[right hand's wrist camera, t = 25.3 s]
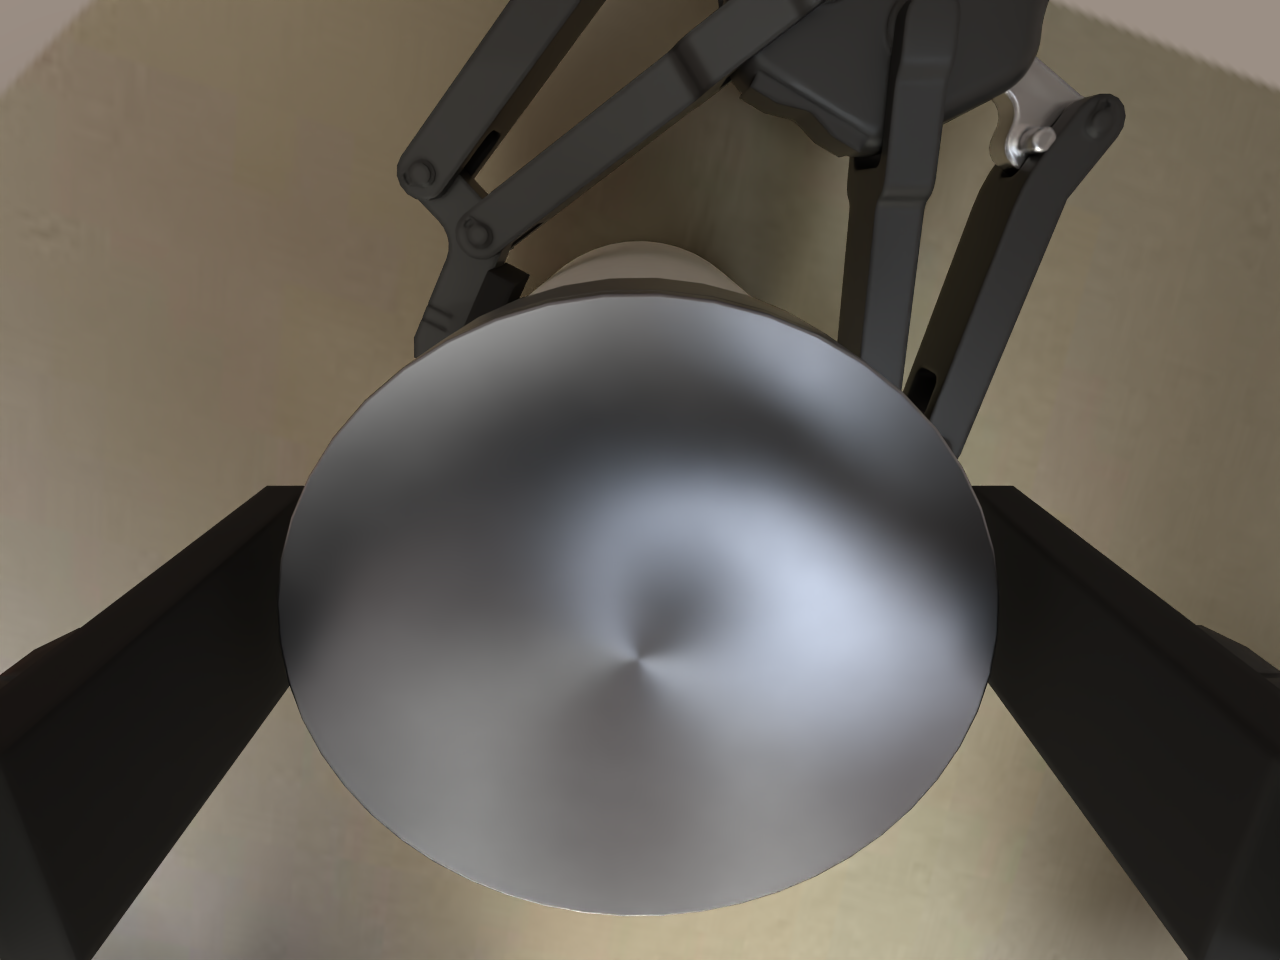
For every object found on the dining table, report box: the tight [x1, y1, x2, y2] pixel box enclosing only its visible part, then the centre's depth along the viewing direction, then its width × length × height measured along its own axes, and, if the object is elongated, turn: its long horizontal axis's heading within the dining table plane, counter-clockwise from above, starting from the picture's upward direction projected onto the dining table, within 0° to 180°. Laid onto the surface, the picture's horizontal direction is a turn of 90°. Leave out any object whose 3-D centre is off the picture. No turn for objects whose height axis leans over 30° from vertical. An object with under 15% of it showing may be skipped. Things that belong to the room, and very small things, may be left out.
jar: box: [528, 241, 750, 296], centre depth 19 cm, size 9×9×17 cm
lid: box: [277, 278, 999, 916], centre depth 11 cm, size 10×10×2 cm
